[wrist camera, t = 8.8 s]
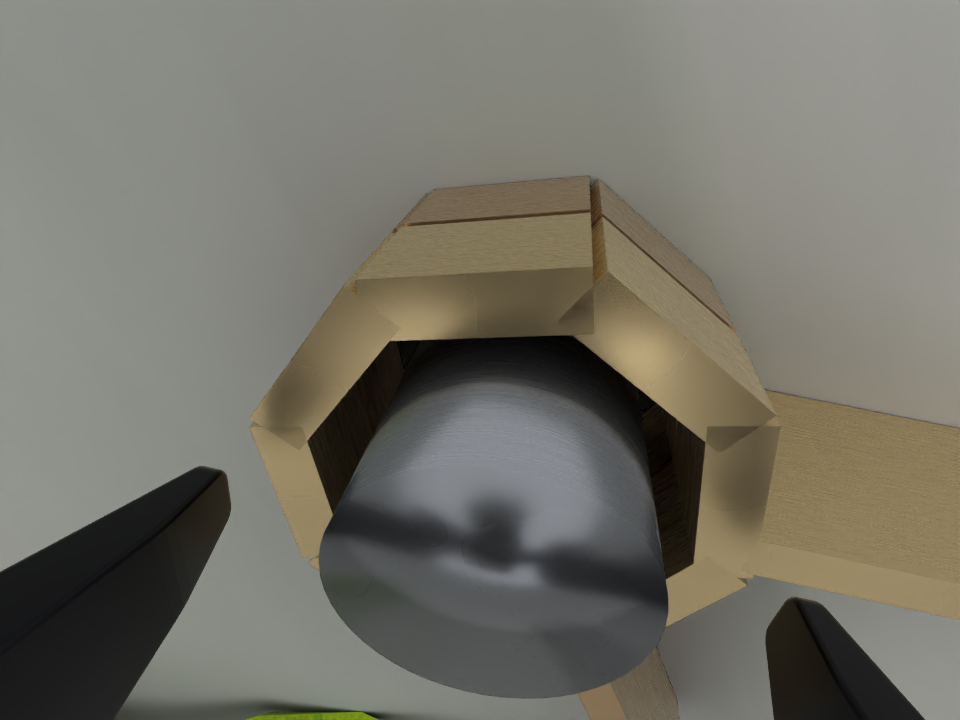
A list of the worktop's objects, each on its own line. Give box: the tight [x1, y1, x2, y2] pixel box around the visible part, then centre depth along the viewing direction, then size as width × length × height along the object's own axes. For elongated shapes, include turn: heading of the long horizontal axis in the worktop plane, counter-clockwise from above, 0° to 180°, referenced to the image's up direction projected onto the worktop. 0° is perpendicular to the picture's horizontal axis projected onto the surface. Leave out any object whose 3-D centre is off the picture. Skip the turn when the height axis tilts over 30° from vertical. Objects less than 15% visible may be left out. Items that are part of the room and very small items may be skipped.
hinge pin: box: [319, 335, 669, 698], centre depth 11 cm, size 5×5×7 cm
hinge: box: [249, 176, 960, 720], centre depth 13 cm, size 18×16×5 cm
